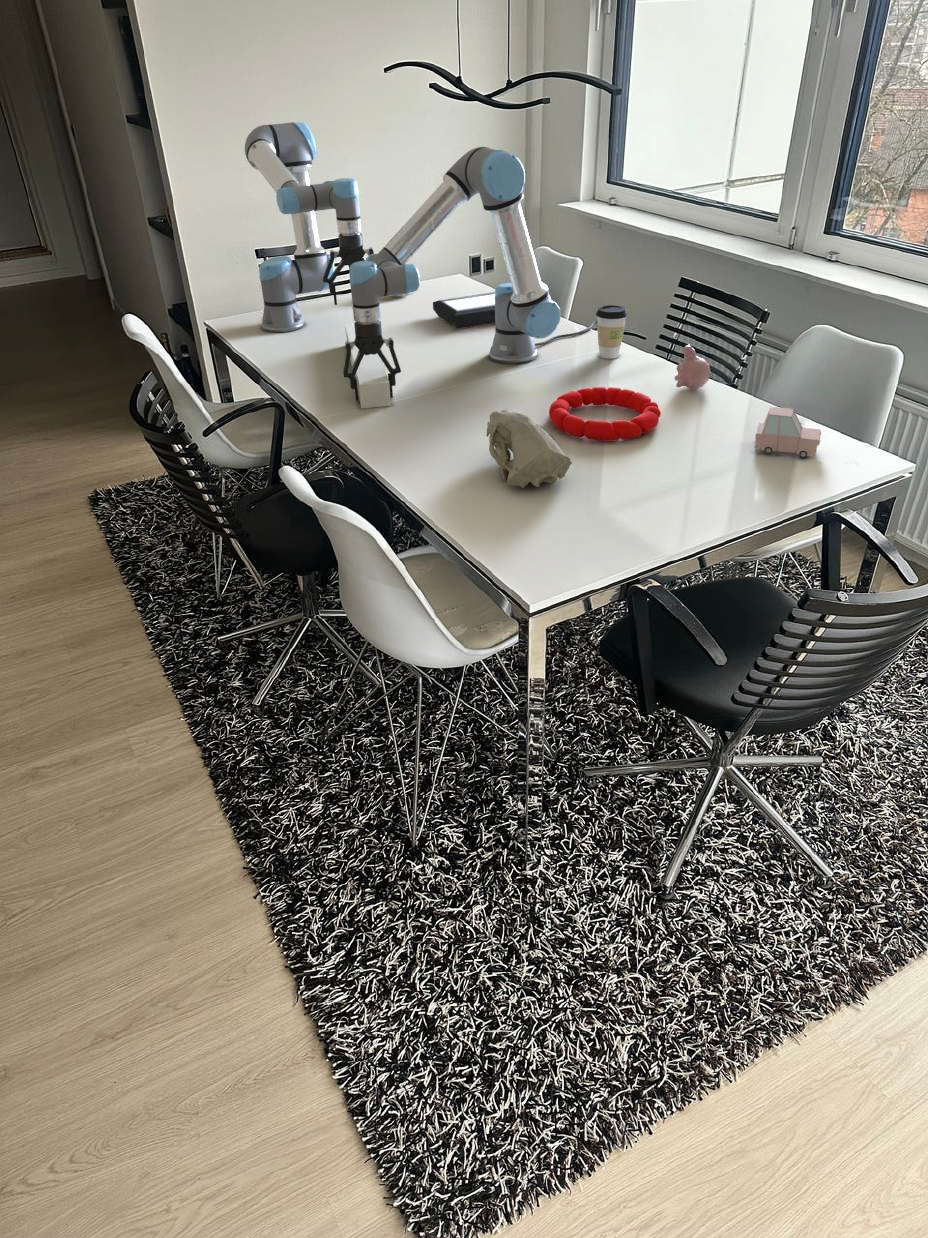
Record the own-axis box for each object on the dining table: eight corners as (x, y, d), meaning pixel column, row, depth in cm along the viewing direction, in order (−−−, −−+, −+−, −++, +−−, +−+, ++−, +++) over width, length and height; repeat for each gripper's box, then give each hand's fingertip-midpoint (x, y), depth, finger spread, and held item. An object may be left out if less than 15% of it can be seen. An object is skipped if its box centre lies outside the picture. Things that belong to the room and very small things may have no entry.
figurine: (665, 387, 264) (669, 347, 257) (693, 380, 268) (698, 340, 261) (686, 396, 257) (690, 355, 250) (714, 388, 262) (720, 348, 255)
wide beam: (347, 345, 306) (344, 324, 302) (372, 343, 307) (370, 322, 303) (361, 408, 257) (359, 384, 253) (391, 405, 258) (389, 382, 254)
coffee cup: (626, 360, 285) (629, 312, 276) (595, 360, 285) (598, 313, 277) (622, 350, 293) (625, 303, 284) (592, 351, 293) (594, 304, 285)
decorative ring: (589, 435, 224) (684, 402, 234) (527, 398, 247) (617, 369, 256) (589, 461, 229) (683, 427, 238) (529, 422, 251) (617, 393, 260)
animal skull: (496, 517, 219) (521, 479, 201) (463, 429, 225) (484, 384, 207) (557, 503, 225) (586, 465, 206) (523, 417, 231) (549, 373, 212)
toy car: (816, 461, 219) (824, 423, 213) (752, 454, 224) (758, 416, 218) (817, 446, 226) (825, 408, 221) (755, 439, 231) (761, 402, 225)
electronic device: (454, 313, 312) (432, 299, 327) (455, 331, 315) (433, 317, 330) (535, 300, 322) (510, 288, 337) (534, 318, 326) (510, 305, 341)
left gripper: (310, 238, 276) (318, 308, 288) (390, 232, 280) (395, 302, 292) (309, 233, 282) (317, 301, 295) (387, 228, 286) (392, 296, 298)
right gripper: (328, 327, 245) (337, 405, 258) (408, 321, 248) (412, 399, 261) (327, 320, 251) (336, 396, 264) (404, 314, 254) (409, 390, 267)
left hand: (356, 302), depth 293 cm, fingers open, 13 cm apart
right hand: (374, 397), depth 262 cm, fingers open, 9 cm apart
